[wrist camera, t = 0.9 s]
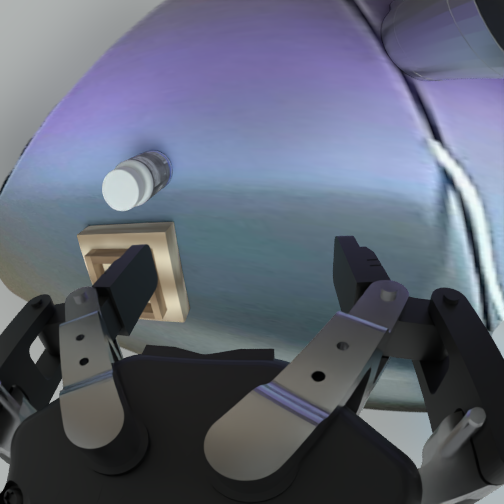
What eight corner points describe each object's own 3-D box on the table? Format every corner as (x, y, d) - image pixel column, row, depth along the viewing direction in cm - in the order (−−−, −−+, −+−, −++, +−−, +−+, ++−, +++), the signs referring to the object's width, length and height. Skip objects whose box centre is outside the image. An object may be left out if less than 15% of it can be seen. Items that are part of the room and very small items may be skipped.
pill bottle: (145, 194, 33) (110, 221, 25) (130, 158, 31) (91, 177, 23) (179, 182, 32) (150, 206, 24) (164, 143, 30) (130, 157, 22)
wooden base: (88, 225, 35) (68, 242, 31) (173, 221, 34) (158, 240, 30) (112, 303, 41) (98, 323, 37) (189, 308, 40) (180, 332, 36)
